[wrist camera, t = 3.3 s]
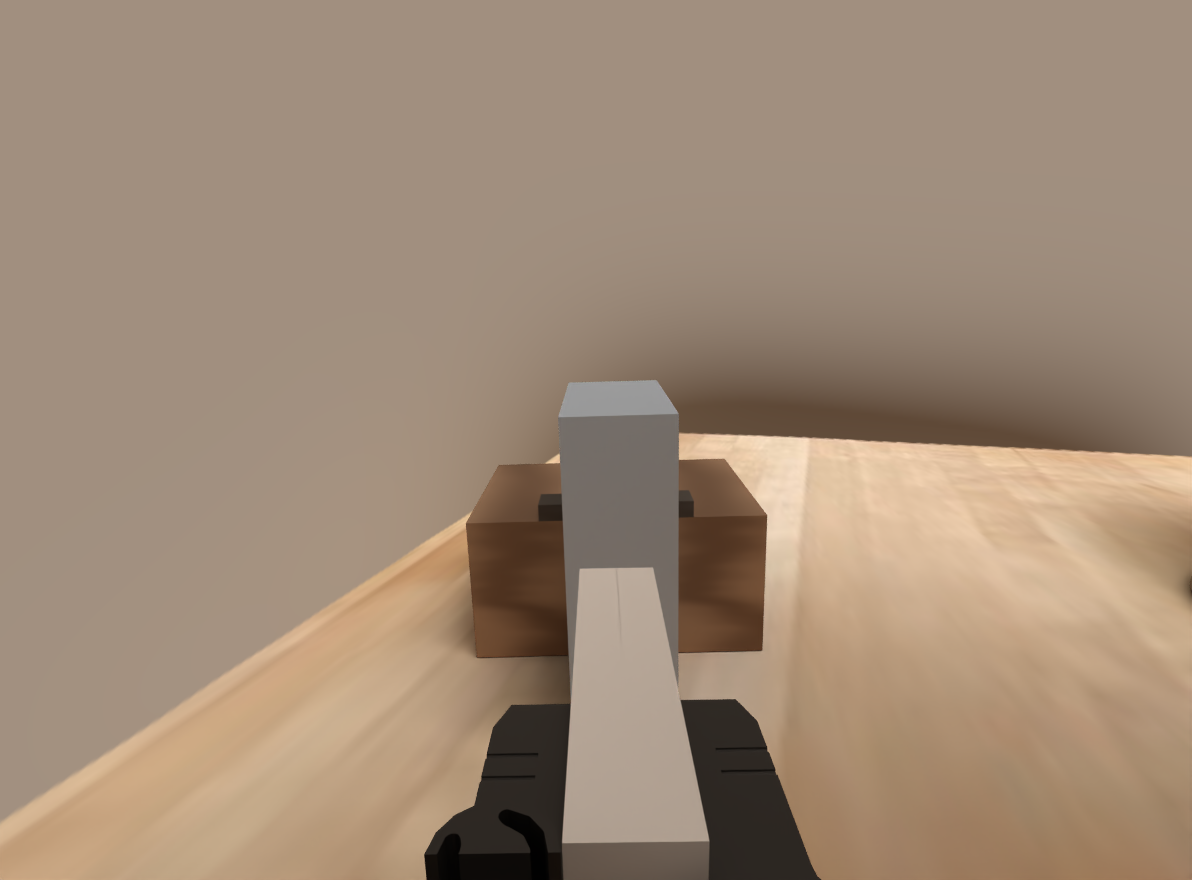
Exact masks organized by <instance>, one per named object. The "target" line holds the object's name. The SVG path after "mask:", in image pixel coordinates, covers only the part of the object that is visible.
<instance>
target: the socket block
mask: <svg viewBox="0 0 1192 880" xmlns="http://www.w3.org/2000/svg"><path fill="white" fill-rule="evenodd" d="M466 530H467V542H468V554H469V567H470V579H471V591H472V603H473V615H474V627H475V639H476V651H477V657H512V656H552V655H569V650H568V627H567V604H566V581H565V559H564V536H563V513H562V491H561V468H560V463H556V464H521V465H499V466H498V467H497V469H496V471H495V473H494V475H493V477H492V478H491V480H490V482H489V484H488V485H487V487H486V489H485V491H484V492H483V494H482V496H481V498H480V499H479V501H478V503H477V505H476V506H475V508H474V510H473V512H472V514H471V515H470V517H469V519H468V521H467V522H466ZM766 534H767V514H766V513H765V512H764V510H763V509H762V508H761V506H760V505H759V504H758V503H757V501H756V500H755V499H754V497H753V496H752V495H751V493H750V492H749V491H748V489H747V488H746V487H745V485H744V484H743V483H742V481H741V480H740V479H739V477H738V476H737V475H736V474H735V472H734V471H733V470H732V468H731V467H730V466H729V464H728V463H727V462H726V460H725V459H700V460H679V537H678V652H712V651H752V650H762V643H763V616H764V588H765V561H766Z"/></svg>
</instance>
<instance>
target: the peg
mask: <svg viewBox="0 0 1192 880" xmlns="http://www.w3.org/2000/svg"><path fill="white" fill-rule="evenodd" d="M558 422H559V445H560V468H561V491H562V513H563V536H564V559H565V581H566V604H567V627H568V650H569V672H570V695H571V696H572V680H573V665H574V649H575V634H576V618H577V603H578V587H579V572H580V569H590V568H651V567H653V570H654V574H655V579H656V584H657V589H658V594H659V599H660V604H661V608H662V613H663V618H664V623H665V628H666V633H667V637H668V642H669V647H670V652H671V657H672V662H673V667H674V671H675V676H676V681H677V686H678V537H679V414H678V412H677V411H676V409H675V408H674V406H673V405H672V403H671V402H670V400H669V399H668V397H667V396H666V394H665V392H664V391H663V390H662V388H661V387H660V385H659V383H658V382H657V381H656V380H650V381H615V382H584V383H583V382H581V383H569V384H568V387H567V391H566V394H565V397H564V400H563V404H562V407H561V410H560V413H559V417H558Z"/></svg>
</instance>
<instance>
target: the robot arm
mask: <svg viewBox="0 0 1192 880" xmlns="http://www.w3.org/2000/svg"><path fill="white" fill-rule="evenodd" d="M1190 589H1191V591H1192V577H1191V582H1190ZM424 857H425V867H426V877H427V880H821V879H820V878H819V877H818V876H817V875H816V873H815V871H814V869H813V867H812V865H811V863H810V860H809V857H808V855H807V852H806V849H805V847H804V844H803V841H802V839H801V836H800V834H799V831H798V828H797V826H796V823H795V820H794V818H793V815H792V812H791V810H790V807H789V804H788V802H787V799H786V796H785V794H784V791H783V788H782V786H781V783H780V780H779V778H778V775H776V772H775V767H774V765H773V762H772V759H771V757H770V754H769V752H767V746H766V743H765V741H764V738H763V735H762V733H761V730H760V727H759V725H758V722H757V720H756V719H755V718H754V717H753V716H752V715H751V714H750V713H749V712H748V711H747V710H746V709H745V708H744V707H743V706H742V705H741V704H740V703H739V702H738V701H737V700H736V699H723V700H680V696H679V691H678V686H677V681H676V676H675V671H674V667H673V662H672V657H671V652H670V647H669V642H668V637H667V633H666V628H665V623H664V618H663V613H662V608H661V604H660V599H659V594H658V589H657V584H656V579H655V574H654V570H653V567H651V568H590V569H580V572H579V587H578V603H577V618H576V634H575V649H574V665H573V680H572V696H571V704H546V705H511V706H510V708H509V709H508V710H507V711H506V713H505V714H504V715H503V716H502V717H501V719H500V720H499V721H498V722H497V723H496V725H495V726H494V727H493V730H492V734H491V739H490V743H489V747H488V751H487V759H485V763H484V768H483V772H482V776H481V782H480V784H479V788H478V792H477V797H476V801H475V805H474V806H473V807H471V808H469V809H466V810H464V811H462V812H460V813H458V814H456V815H454V816H453V817H452V818H451V819H450V820H449V821H448V822H447V823H446V824H445V825H444V826H443V827H441V828H440V829H439V830H438V831H437V832H436V833H435V835H434V837H433V839H432V841H431V843H430V845H429V847H428V849H427V850H426V852H425V854H424Z"/></svg>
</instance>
